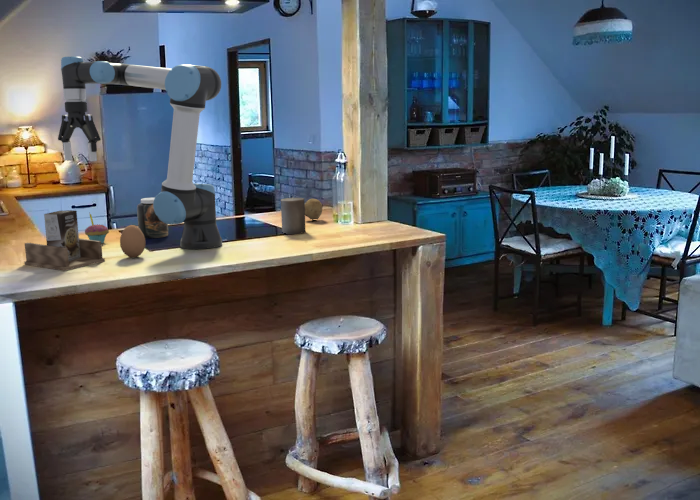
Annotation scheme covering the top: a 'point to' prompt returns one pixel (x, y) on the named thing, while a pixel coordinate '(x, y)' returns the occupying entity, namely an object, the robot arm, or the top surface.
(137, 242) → the egg
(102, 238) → the cupcake
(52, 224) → the coffee box
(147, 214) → the jar
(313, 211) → the natural sponge
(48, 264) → the walnut rack
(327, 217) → the top surface
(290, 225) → the pillar candle
